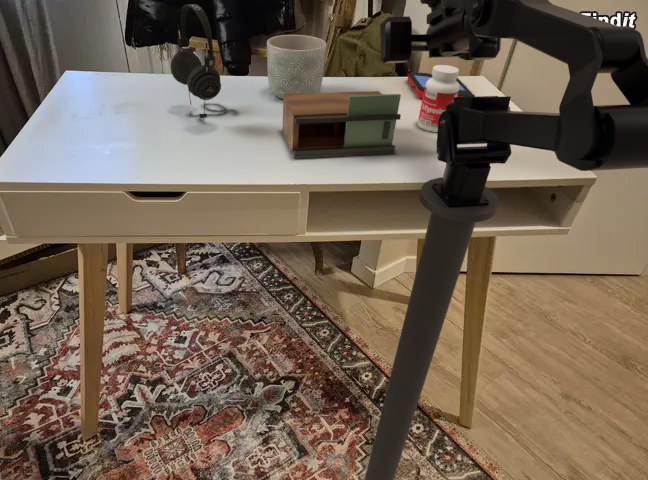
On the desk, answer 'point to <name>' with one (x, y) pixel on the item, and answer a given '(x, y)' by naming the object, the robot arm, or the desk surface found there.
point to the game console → (420, 80)
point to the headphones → (196, 63)
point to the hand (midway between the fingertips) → (418, 49)
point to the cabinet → (325, 125)
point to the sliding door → (371, 130)
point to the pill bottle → (438, 96)
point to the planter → (295, 64)
